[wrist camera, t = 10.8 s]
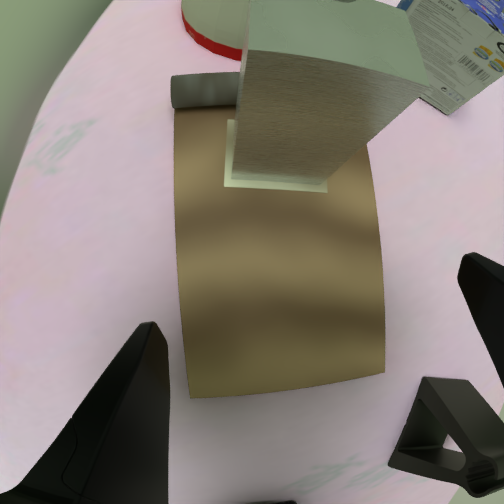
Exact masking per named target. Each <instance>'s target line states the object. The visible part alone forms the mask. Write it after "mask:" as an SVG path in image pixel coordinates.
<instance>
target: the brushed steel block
mask: <svg viewBox="0 0 504 504" xmlns="http://www.w3.org/2000/svg"><path fill="white" fill-rule="evenodd" d="M429 88H430V84H429V80H428V77H427V73H426V70H425V66H424V63H423V60H422V56H421V53H420V50H419V47H418V44H417V41H416V38H415V35H414V33H413V30H412V27H411V24H410V22H409V19H408V17H407V14H406V12H405V11H404V10H402V9H399V8H396V7H393V6H390V5H387V4H384V3H381V2H378V1H375V0H249V4H248V11H247V19H246V26H245V34H244V42H243V50H242V58H241V67H240V75H239V84H238V93H237V102H236V111H235V121H234V135H233V153H232V172H231V179H237V180H255V181H271V182H286V183H298V184H310V185H321V184H322V183H323V182H324V181H325V180H326V179H327V178H329V177H330V176H331V175H332V174H333V173H334V172H335V171H336V170H337V169H339V168H340V167H341V166H342V165H343V164H344V163H345V162H346V161H348V160H349V159H350V158H351V157H352V156H353V155H354V154H355V153H357V152H358V151H359V150H360V149H361V148H362V147H363V146H364V145H365V144H367V143H368V142H369V141H370V140H371V139H372V138H373V137H374V136H376V135H377V134H378V133H379V132H380V131H381V130H382V129H383V128H385V127H386V126H387V125H388V124H389V123H390V122H391V121H392V120H394V119H395V118H396V117H397V116H398V115H399V114H400V113H401V112H403V111H404V110H405V109H406V108H407V107H408V106H409V105H410V104H412V103H413V102H414V101H415V100H416V99H417V98H418V97H420V96H421V95H422V94H423V93H424V92H425V91H426V90H427V89H429Z"/></svg>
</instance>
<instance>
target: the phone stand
mask: <svg viewBox="0 0 504 504" xmlns="http://www.w3.org/2000/svg"><path fill="white" fill-rule="evenodd" d="M447 434H449V435H450V436H451V438H452V439H453V440H454V441H455V443H456V444H457V445H458V447H459V448H460V449H461V450H462V452H463V453H462V452H457V451H453V450H449V449H445V448H443V443H444V441H445V439H446V437H447ZM388 466H389V467H391V468H395V469H398V470H401V471H405V472H408V473H412V474H416V475H420V476H424V477H427V478H432V479H436V480H440V481H445V482H449V483H454V484H457V485H459V486H461V487H463V488H464V489H465V490H466V491H467V492H468V493H469V494H470V495H471V496H472V497H475V498H480V497H484V496H486V495H489V494H492V493H494V492H497V491H499V490H501V489H504V423H503V421H502V420H501V419H500V418H499V416H498V415H497V414H496V413H495V412H494V410H493V409H492V408H491V407H490V405H489V404H488V403H487V402H486V401H485V399H484V398H483V397H482V396H481V395H480V393H479V392H478V391H477V390H476V389H475V388H474V386H473V385H472V384H471V383H470V382H469V381H468V380H455V379H442V378H430V377H423V378H422V380H421V383H420V386H419V389H418V392H417V395H416V397H415V400H414V403H413V406H412V408H411V411H410V413H409V416H408V419H407V424H406V425H405V426H404V428H403V431H402V433H401V435H400V438H399V440H398V442H397V445H396V447H395V449H394V451H393V453H392V455H391V458H390V460H389V462H388Z"/></svg>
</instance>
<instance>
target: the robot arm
mask: <svg viewBox="0 0 504 504" xmlns="http://www.w3.org/2000/svg"><path fill="white" fill-rule="evenodd" d="M457 279H458V284H459V286H460V288H461V291H462V293H463V295H464V298H465V300H466V302H467V305H468V307H469V310H470V312H471V315H472V317H473V320H474V322H475V324H476V326H477V329H478V331H479V333H480V335H481V337H482V339H483V341H484V343H485V345H486V348H487V350H488V352H489V354H490V356H491V359H492V361H493V363H494V366H495V368H496V370H497V373H498V375H499V378H500V380H501V382H502V385H503V388H504V266H502V265H500V264H498V263H496V262H494V261H492V260H490V259H488V258H486V257H484V256H482V255H480V254H478V253H476V252H472V253H468V254H465V255H464V256H463V257H462V260H461V264H460V268H459V272H458V276H457ZM169 418H170V379H169V361H168V345H167V341H166V339H165V337H164V335H163V334H162V332H161V330H160V329H159V327H158V325H157V324H156V323H155V322H153V321H151V322H144V323H141V324H140V325H139V326H138V327H137V328H136V330H135V331H134V332H133V334H132V335H131V336H130V337H129V339H128V340H127V341H126V343H125V344H124V345H123V347H122V348H121V349H120V351H119V352H118V353H117V355H116V356H115V357H114V359H113V360H112V361H111V363H110V364H109V365H108V367H107V368H106V369H105V371H104V372H103V374H102V375H101V376H100V378H99V379H98V380H97V382H96V383H95V384H94V386H93V387H92V389H91V390H90V391H89V393H88V394H87V396H86V397H85V398H84V400H83V401H82V403H81V404H80V405H79V407H78V408H77V410H76V411H75V412H74V414H73V415H72V418H70V419H69V421H68V422H67V424H66V425H65V427H64V428H63V429H62V431H61V432H60V434H59V435H58V436H57V438H56V439H55V440H54V442H53V443H52V444H51V445H50V447H49V448H48V449H47V451H46V452H45V453H44V454H43V456H42V457H41V458H40V459H39V460H38V462H37V463H36V464H35V465H34V466H33V468H32V469H31V470H30V471H29V473H28V474H27V475H26V476H25V477H24V479H23V480H22V481H21V482H20V483H19V484H18V485H17V486H16V487H14V488H13V489H11V490H9V491H7V492H4V493H1V494H0V504H168V451H169ZM277 504H297V503H296V502H294V501H290V502H284V503H277Z"/></svg>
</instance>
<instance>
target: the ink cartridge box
mask: <svg viewBox="0 0 504 504" xmlns="http://www.w3.org/2000/svg"><path fill="white" fill-rule="evenodd" d="M396 8H399V9H402V10H404V11H405V12H406V14H407V17H408V19H409V22H410V24H411V27H412V30H413V33H414V35H415V38H416V41H417V44H418V47H419V50H420V53H421V56H422V60H423V63H424V66H425V70H426V73H427V77H428V80H429V84H430V88H429V89H427V90H426V91H425V92H424V93H423V94H422V95H421V96H420V97H421V98H422V99H424V100H426V101H427V102H429V103H430V104H432V105H433V106H435V107H436V108H438V109H439V110H441V111H442V112H444V113H445V114H447V115H449V114H451V113H452V112H454V111H455V110H456V109H458V108H459V107H461V106H462V105H463V104H465V103H466V102H467V101H469V100H470V99H471V98H473V97H474V96H476V95H477V94H478V93H480V92H481V91H482V90H484V89H485V88H486V87H487V86H489V85H490V84H492V83H493V82H495V81H496V80H497V79H499V78H500V77H502V76H503V75H504V14H503V13H502V10H503V8H504V0H499V1H495V0H401V1H400V3H399V4H398V6H397V7H396Z"/></svg>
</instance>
